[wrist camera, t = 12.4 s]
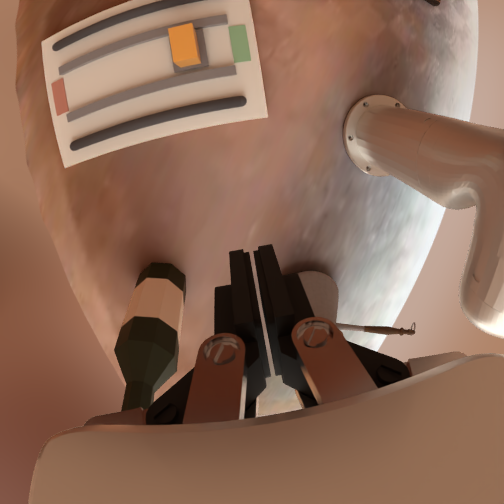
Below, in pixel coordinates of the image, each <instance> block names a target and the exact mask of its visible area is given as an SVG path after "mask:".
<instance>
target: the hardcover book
mask: <svg viewBox="0 0 504 504" xmlns="http://www.w3.org/2000/svg"><path fill="white" fill-rule="evenodd" d="M425 1H427V2H428V3H430V4H431V5H433V6H437V5H439V4H440V0H425Z"/></svg>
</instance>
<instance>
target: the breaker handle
mask: <svg viewBox="0 0 504 504" xmlns="http://www.w3.org/2000/svg"><path fill="white" fill-rule="evenodd" d="M168 32H169V44H170V50H171V56H172V62H173V68H174V73H179V72H183V71H187V70H192V69H197V68H202V67H207V66H209V62H208V56H207V50H206V44H205V38H204V32H203V29H202V30H197V31H195V29H194V27H193V24H192V23H189V24H185V25H180V26H176V27H172V28H168Z"/></svg>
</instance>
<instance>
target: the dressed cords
mask: <svg viewBox="0 0 504 504" xmlns="http://www.w3.org/2000/svg"><path fill="white" fill-rule="evenodd" d="M199 1H204V0H160V1H156V2H153V3H149V4H146V5H143V6H140V7H137V8H134V9H131V10H128V11H125V12H122V13H119V14H117V15H114V16H111V17H109V18H106V19H104V20H101V21H99V22H97V23H94V24H92V25H90V26H87V27H85V28H83V29H81V30H79V31H77V32H75V33H73V34H71V35H69V36H67V37H65V38H63V39H61V40H59V41H57V42H56V43H54V44H53V46H52V49H53V51H58V50H60V49H62V48H64V47H66V46H68V45H70V44H72V43H74V42H76V41H78V40H80V39H83V38H85V37H87V36H89V35H91V34H94V33H96V32H98V31H101V30H103V29H106V28H108V27H111V26H113V25H116V24H119V23H121V22H124V21H127V20H130V19H133V18H136V17H139V16H142V15H145V14H149V13H152V12H156V11H159V10H163V9H167V8H171V7H175V6H179V5H184V4H189V3H194V2H199ZM246 103H247V99H246V98H245V97H244V96H234V97H228V98H222V99H217V100H211V101H206V102H201V103H196V104H191V105H187V106H182V107H178V108H174V109H170V110H166V111H162V112H158V113H155V114H151V115H147V116H144V117H140V118H137V119H134V120H130V121H127V122H124V123H121V124H118V125H115V126H112V127H109V128H106V129H103V130H101V131H98V132H95V133H92V134H90V135H87V136H85V137H82V138H79V139H77V140H75V141H72V142H71V144H70V149H71V150H72V151H76V150H79V149H82V148H84V147H87V146H90V145H92V144H95V143H98V142H101V141H103V140H106V139H109V138H112V137H115V136H118V135H122V134H125V133H128V132H131V131H135V130H138V129H141V128H145V127H149V126H152V125H156V124H160V123H164V122H168V121H172V120H176V119H180V118H184V117H189V116H193V115H198V114H203V113H208V112H213V111H219V110H224V109H230V108H237V107H243V106H245V105H246Z"/></svg>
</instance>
